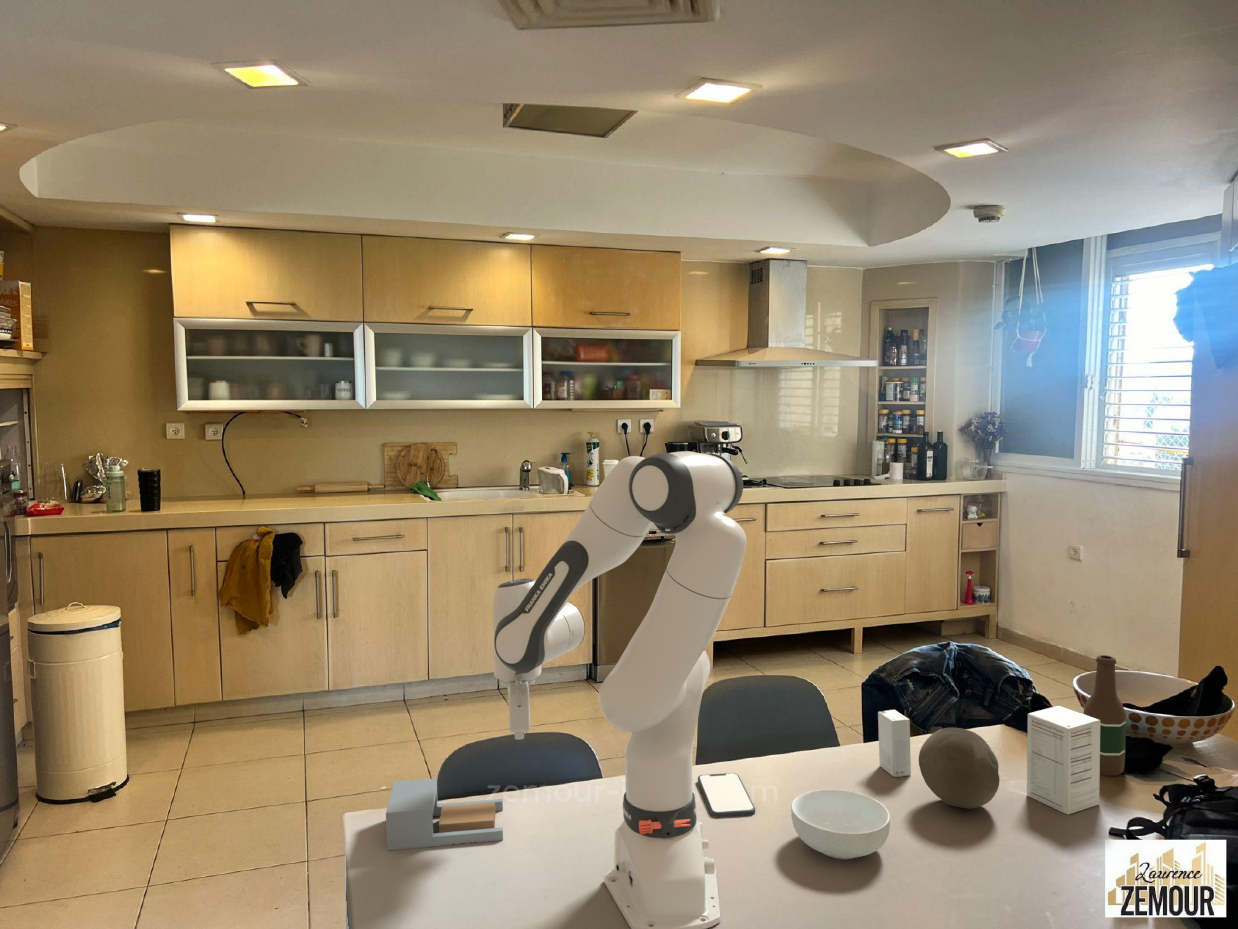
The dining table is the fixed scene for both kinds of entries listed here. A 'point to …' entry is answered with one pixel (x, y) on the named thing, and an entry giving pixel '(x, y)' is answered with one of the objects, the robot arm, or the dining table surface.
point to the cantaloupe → (959, 767)
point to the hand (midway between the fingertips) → (519, 736)
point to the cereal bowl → (840, 822)
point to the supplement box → (1063, 759)
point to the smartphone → (725, 795)
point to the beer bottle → (1108, 717)
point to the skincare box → (894, 743)
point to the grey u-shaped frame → (427, 818)
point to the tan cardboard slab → (467, 817)
